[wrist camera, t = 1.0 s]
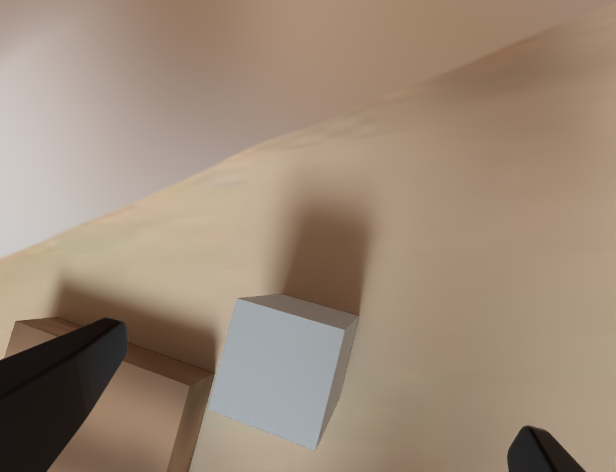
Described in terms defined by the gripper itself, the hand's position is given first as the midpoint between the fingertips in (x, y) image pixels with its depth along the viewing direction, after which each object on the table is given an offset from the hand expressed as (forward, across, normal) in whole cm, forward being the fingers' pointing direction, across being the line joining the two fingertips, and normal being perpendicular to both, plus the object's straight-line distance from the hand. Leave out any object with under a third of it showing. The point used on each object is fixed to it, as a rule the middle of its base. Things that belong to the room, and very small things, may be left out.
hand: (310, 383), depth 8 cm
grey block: (+12, +1, +9) cm, 15 cm away
